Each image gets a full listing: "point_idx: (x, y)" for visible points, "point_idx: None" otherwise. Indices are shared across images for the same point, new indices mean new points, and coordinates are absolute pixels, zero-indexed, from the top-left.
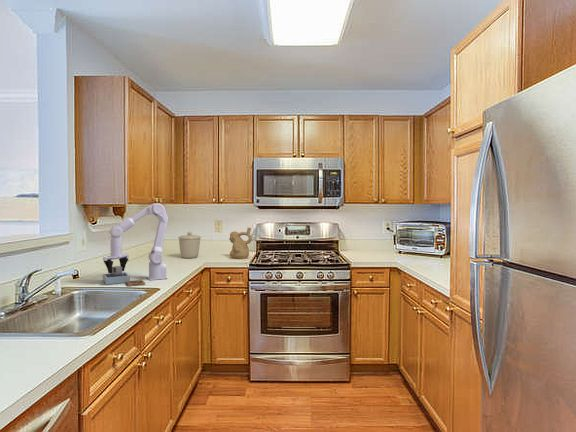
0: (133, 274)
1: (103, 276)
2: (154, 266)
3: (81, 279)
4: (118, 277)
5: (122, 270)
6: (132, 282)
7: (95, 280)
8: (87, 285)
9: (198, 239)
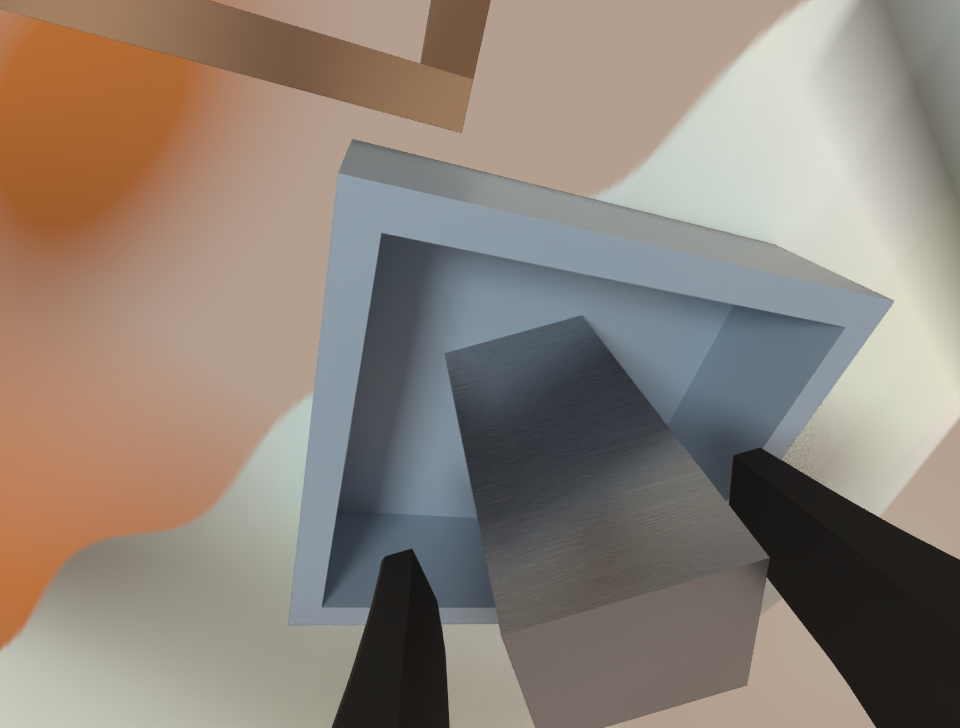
0: (123, 708)
1: None
2: None
3: None
4: (642, 239)
5: (420, 577)
6: (305, 30)
7: None
8: (888, 397)
9: None
